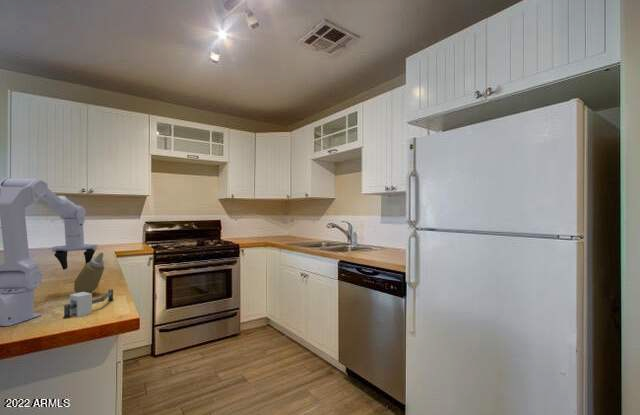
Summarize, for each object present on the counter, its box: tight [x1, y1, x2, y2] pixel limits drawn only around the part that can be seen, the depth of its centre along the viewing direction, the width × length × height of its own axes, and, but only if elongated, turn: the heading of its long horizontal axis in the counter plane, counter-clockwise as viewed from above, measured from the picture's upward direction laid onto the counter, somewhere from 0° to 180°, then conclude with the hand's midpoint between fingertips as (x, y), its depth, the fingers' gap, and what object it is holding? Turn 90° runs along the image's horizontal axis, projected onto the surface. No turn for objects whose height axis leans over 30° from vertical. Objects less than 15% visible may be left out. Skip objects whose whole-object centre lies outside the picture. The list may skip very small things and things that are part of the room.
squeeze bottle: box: [73, 252, 105, 294], centre depth 121 cm, size 8×8×18 cm
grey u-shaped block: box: [69, 292, 93, 318], centre depth 100 cm, size 4×5×6 cm
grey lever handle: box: [62, 288, 114, 319], centre depth 106 cm, size 20×6×4 cm, turn 171°
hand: (76, 268), depth 123 cm, fingers open, 7 cm apart
